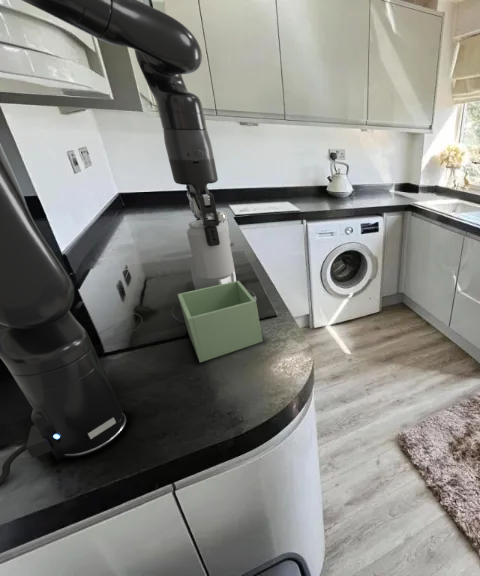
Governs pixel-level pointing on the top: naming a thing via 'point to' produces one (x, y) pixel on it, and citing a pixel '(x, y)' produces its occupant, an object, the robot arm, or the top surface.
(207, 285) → the alarm clock
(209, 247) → the can
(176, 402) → the top surface
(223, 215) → the silver grey upright ornament
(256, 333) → the bin
